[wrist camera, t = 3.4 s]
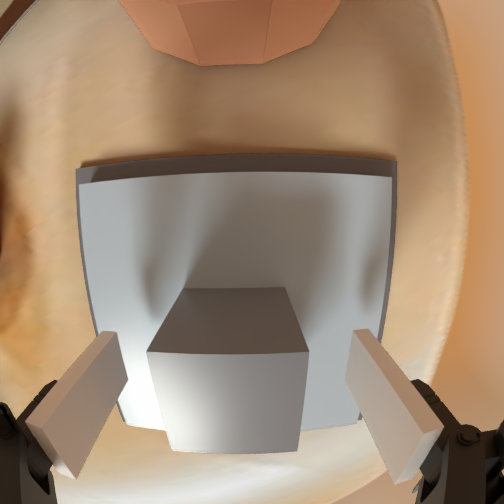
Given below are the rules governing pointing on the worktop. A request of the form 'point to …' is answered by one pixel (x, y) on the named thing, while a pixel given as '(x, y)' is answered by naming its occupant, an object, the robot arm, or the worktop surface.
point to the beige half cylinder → (12, 14)
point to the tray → (244, 164)
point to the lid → (237, 299)
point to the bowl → (229, 27)
